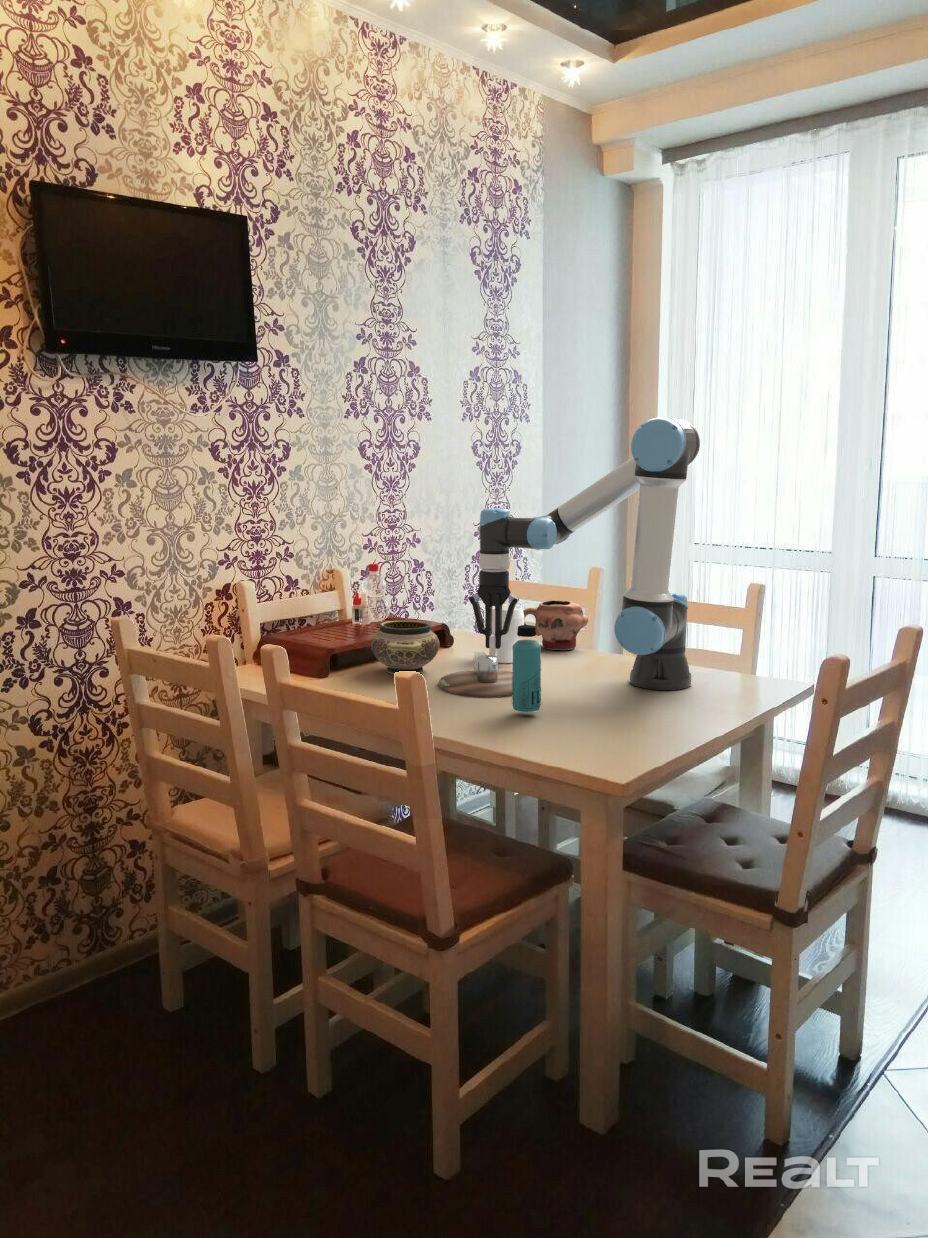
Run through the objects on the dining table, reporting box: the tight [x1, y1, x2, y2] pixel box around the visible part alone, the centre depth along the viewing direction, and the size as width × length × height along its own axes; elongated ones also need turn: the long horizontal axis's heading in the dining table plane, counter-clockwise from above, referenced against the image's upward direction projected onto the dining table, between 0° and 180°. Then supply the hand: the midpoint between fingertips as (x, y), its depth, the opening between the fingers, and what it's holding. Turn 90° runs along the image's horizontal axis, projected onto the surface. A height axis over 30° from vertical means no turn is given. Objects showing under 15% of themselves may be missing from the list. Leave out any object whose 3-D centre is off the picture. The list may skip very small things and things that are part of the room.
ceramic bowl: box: [370, 619, 441, 675], centre depth 245 cm, size 24×18×15 cm
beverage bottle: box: [511, 624, 542, 713], centre depth 204 cm, size 6×7×20 cm
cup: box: [491, 604, 525, 664], centre depth 258 cm, size 11×11×15 cm
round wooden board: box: [438, 669, 513, 698], centre depth 232 cm, size 24×24×1 cm
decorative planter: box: [523, 600, 589, 651], centre depth 275 cm, size 20×12×14 cm, turn 86°
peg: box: [473, 651, 499, 683], centre depth 236 cm, size 15×5×6 cm, turn 11°
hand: (493, 660), depth 240 cm, fingers closed
